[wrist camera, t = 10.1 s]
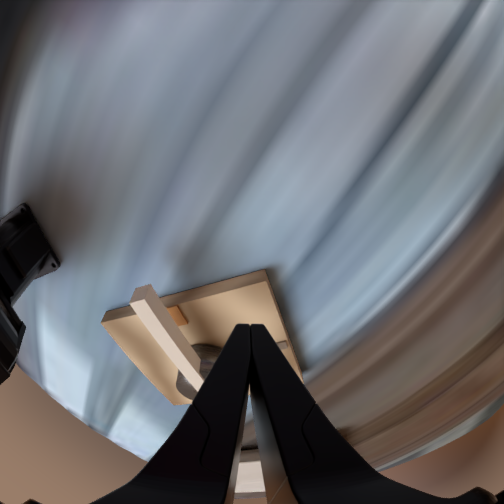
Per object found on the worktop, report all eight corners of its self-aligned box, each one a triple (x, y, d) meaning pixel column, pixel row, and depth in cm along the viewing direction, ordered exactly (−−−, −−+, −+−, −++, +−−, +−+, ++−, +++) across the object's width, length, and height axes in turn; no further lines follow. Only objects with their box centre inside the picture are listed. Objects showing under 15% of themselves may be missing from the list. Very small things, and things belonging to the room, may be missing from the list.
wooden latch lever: (243, 372, 26) (243, 401, 23) (195, 380, 27) (192, 408, 24) (180, 262, 20) (170, 292, 17) (122, 280, 20) (107, 309, 18)
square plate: (175, 445, 41) (173, 464, 38) (338, 424, 38) (343, 445, 35) (228, 481, 55) (228, 495, 51) (342, 465, 51) (345, 479, 48)
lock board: (175, 394, 31) (173, 406, 30) (106, 311, 24) (99, 324, 23) (301, 372, 29) (304, 385, 28) (264, 268, 22) (266, 282, 21)
